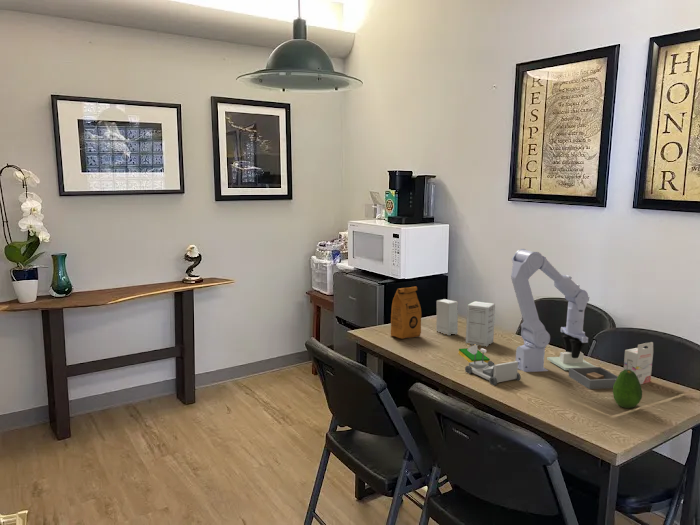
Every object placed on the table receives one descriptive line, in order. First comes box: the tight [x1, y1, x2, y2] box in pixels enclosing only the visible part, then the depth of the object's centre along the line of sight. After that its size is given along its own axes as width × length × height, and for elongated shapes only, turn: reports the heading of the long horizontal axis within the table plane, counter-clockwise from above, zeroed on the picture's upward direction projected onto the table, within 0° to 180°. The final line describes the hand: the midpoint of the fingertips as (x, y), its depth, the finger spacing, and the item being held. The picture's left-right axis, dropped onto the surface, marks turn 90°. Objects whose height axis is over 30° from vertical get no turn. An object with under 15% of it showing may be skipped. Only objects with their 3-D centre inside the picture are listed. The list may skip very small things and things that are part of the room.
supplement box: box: [465, 300, 496, 348], centre depth 228 cm, size 10×9×17 cm
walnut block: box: [586, 372, 604, 380], centre depth 184 cm, size 4×4×2 cm
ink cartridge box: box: [623, 341, 654, 385], centre depth 184 cm, size 9×5×15 cm, turn 117°
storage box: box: [568, 366, 618, 390], centre depth 184 cm, size 12×12×4 cm
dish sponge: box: [458, 347, 491, 364], centre depth 208 cm, size 7×14×2 cm, turn 10°
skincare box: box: [435, 298, 459, 336], centre depth 242 cm, size 8×6×15 cm
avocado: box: [612, 369, 643, 409], centre depth 163 cm, size 8×8×12 cm
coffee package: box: [390, 286, 423, 339], centre depth 234 cm, size 10×12×22 cm
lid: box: [546, 351, 597, 371], centre depth 200 cm, size 12×12×5 cm
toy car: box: [464, 344, 522, 386], centre depth 189 cm, size 18×10×12 cm
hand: (572, 356), depth 200 cm, fingers open, 3 cm apart
